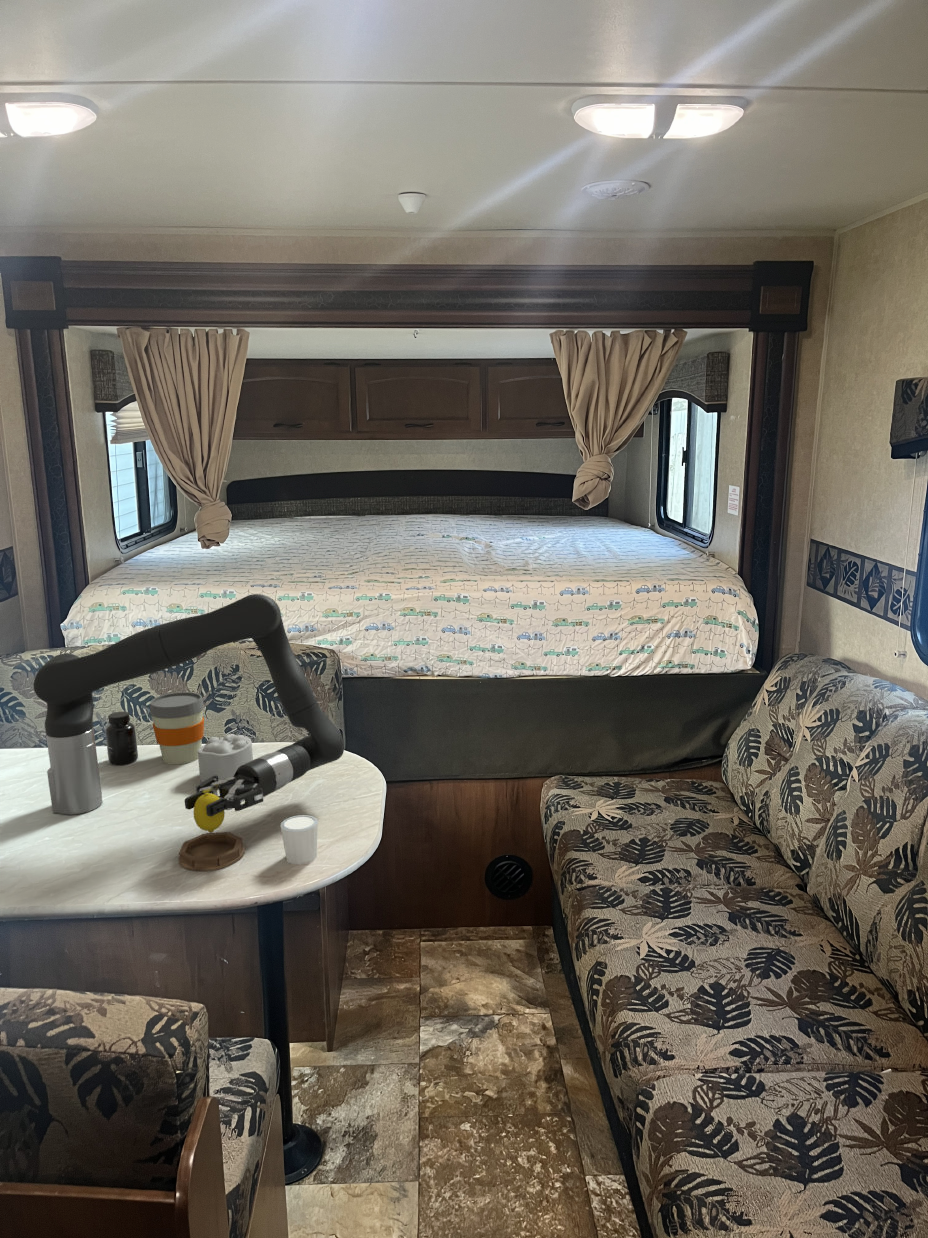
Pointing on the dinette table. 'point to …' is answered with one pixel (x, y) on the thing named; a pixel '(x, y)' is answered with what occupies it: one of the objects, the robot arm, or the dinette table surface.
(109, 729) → the supplement bottle
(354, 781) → the dinette table surface
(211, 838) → the ring dish
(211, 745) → the lumpy-topped squat cylinder
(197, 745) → the reusable coffee cup
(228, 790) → the robot arm
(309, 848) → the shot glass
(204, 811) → the lemon
